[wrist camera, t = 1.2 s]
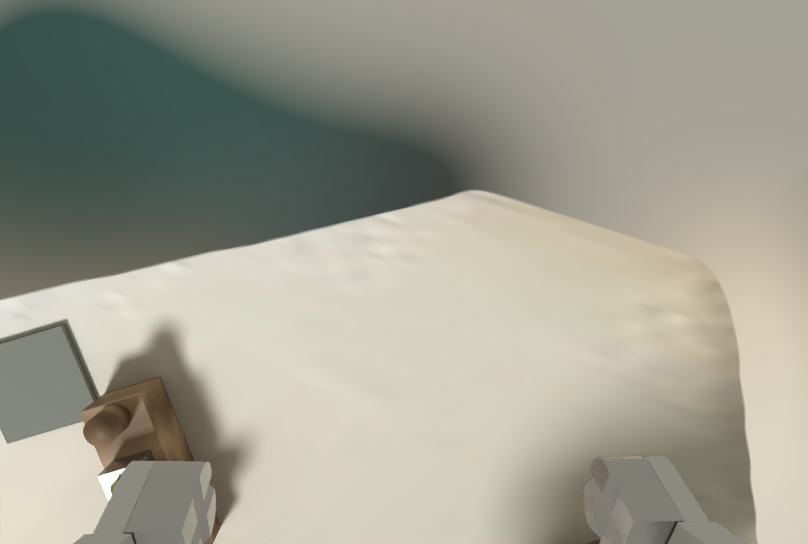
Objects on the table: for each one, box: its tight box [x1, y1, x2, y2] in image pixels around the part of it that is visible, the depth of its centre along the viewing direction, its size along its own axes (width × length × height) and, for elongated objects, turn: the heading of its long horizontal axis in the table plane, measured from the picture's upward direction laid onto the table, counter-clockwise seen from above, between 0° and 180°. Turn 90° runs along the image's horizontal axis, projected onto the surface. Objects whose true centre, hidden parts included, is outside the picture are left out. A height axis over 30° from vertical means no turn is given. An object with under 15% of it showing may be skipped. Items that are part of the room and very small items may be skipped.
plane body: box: [80, 377, 220, 544], centre depth 51 cm, size 18×6×12 cm, turn 17°
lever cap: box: [98, 449, 155, 501], centre depth 50 cm, size 7×4×4 cm, turn 17°
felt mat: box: [0, 324, 97, 444], centre depth 54 cm, size 10×10×1 cm
